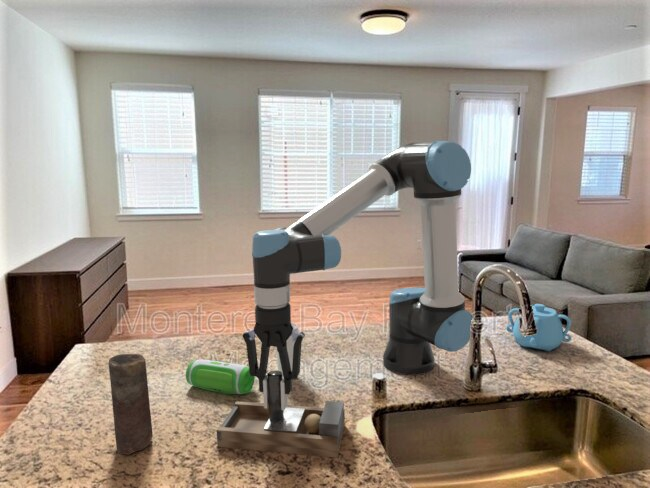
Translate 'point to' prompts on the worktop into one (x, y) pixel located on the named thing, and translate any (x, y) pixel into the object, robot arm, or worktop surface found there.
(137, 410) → the candle
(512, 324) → the decorative pot
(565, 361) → the worktop surface
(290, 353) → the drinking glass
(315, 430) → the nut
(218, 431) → the base
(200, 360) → the speaker
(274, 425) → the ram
